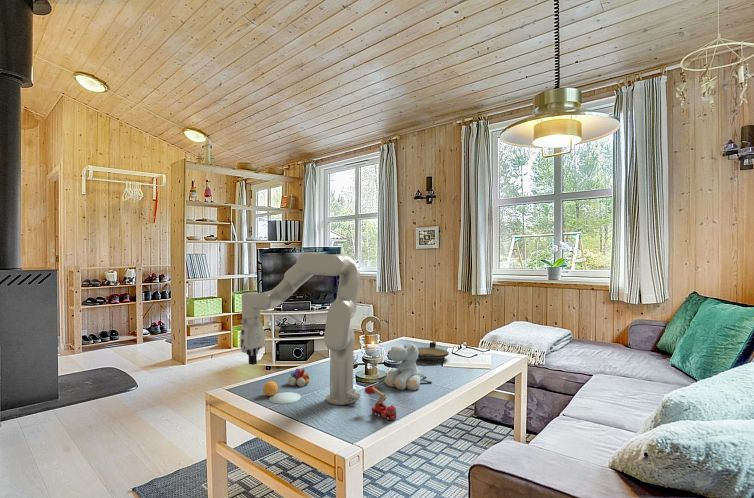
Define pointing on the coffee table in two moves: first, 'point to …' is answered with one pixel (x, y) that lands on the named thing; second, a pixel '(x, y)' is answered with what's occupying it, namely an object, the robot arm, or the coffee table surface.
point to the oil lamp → (432, 352)
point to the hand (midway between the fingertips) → (252, 363)
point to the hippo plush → (405, 368)
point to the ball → (270, 388)
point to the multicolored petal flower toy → (298, 378)
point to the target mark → (285, 398)
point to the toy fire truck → (381, 405)
